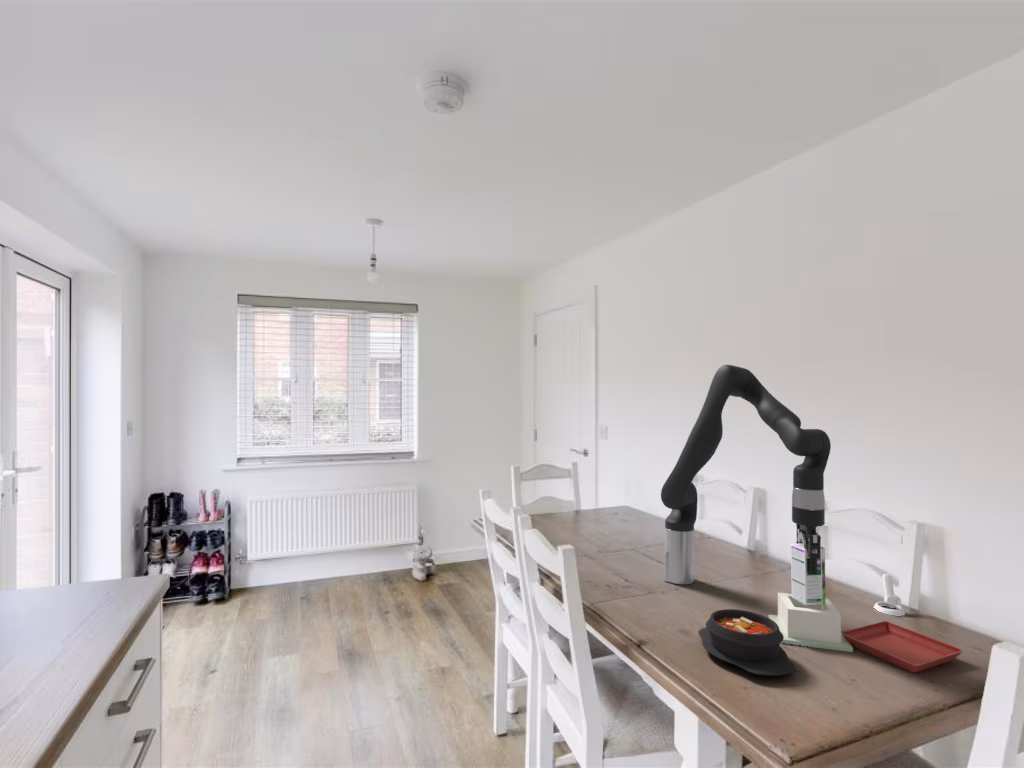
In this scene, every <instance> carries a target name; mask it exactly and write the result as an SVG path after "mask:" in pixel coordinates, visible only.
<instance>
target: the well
mask: <svg viewBox="0 0 1024 768" xmlns="http://www.w3.org/2000/svg"><path fill="white" fill-rule="evenodd" d="M767 617H768V618H770V619H771V620H773V621H774V622H775V623H776V624H777V625H778V627H779V630H780V632H781V633H782V634H783V636H784V639H783V641H782V642H781V643H780V644H782V643H785V644H784V645H790V644H793V646H799V645H801V646H800V647H807V646H808V648H816V649H817V648H818V649H826V650H833V651H842V652H848V653H853V652H854V647H853V646H852V645H851V644H850V643H849V642H848V641H847V640H846V639H845V638H844V637H843V635H842V634H841V632H842V613H840V611H838V609H837V608H836V606H835V605H834V604H833V603H832V602H831V600H830V599H829V598H828V597H826V596H825V604H817V605H804V604H802V603H800V602H798V601H797V600H795V599H794V598H792V593H786V592H777V614H768V616H767Z"/></svg>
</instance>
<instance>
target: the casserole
mask: <svg viewBox="0 0 1024 768" xmlns="http://www.w3.org/2000/svg"><path fill="white" fill-rule="evenodd" d="M698 635H699V636H700V638H701V643H702V647H704V649H705V650H706V651H707V652H708V653H709V654H711V655H712V656H714V657H715V658H717V659H718V660H721V661H722V662H726V663H727V664H731V665H733V666H736V667H738V668H740V669H742V670H744V671H746V672H748V673H750V674H754V675H757V676H769V677H774V676H775V677H776V676H784V675H788V674H791V673H793V672H795V671H796V665H794V664H793V662H792V661H791V660H790V658H789V656H788V655H787V652H786V651H785V650H784V649H783V647H781V644H782V643H781V642H782V641H783V639H784V636H783V634H782V633H781V632H780V630H779V627H778V625H777V624H776V623H775V622H774V621H773V620H771V619H770V618H768V616H766V615H763V614H760V613H757V612H755V611H754V612H753V611H750V610H749V611H748V610H743V609H733V608H732V609H731V608H730V609H729V608H728V609H727V608H726V609H719V610H716V611H714V612H713V611H712V613H711V614H710V617H709V619H708V620H706V622H705V627H702V628H700V629H699V630H698Z"/></svg>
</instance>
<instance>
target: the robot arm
mask: <svg viewBox="0 0 1024 768" xmlns="http://www.w3.org/2000/svg"><path fill="white" fill-rule="evenodd" d="M729 397H735V398H741V399H743V400H745V401H747V402H748V403H750V404H751V405H753V407H754V408H755V410H757V413H758V415H759V417H760V419H761V421H763V423H765V425H767V426H768V427H769V428H770V429H771V430H773V431H774V432H775V433H776V434H777V435H778V437H779V438H780V440H781V442H782V443H783V445H784V447H785V448H786V449H787V450H788V451H789V452H790V453H792V454H793V455H795V456H799V457H804V460H803V462H802V463H800V464H796V466H795V467H794V468H793V475H792V478H793V479H792V481H793V483H792V486H793V487H792V494H791V521H792V522H793V523H794V524H796V525H795V527H796V542H795V544H800V543H803V548H804V549H806V557H807V572H808V573H809V574H817V559H820V558H821V556H820V546H821V540H822V536H821V535H820V534H819V533H818V532H817V527H823V526H824V525H825V521H826V520H825V515H826V514H825V512H826V510H825V509H826V508H825V506H826V504H825V502H826V501H825V500H826V499H825V498H826V497H825V490H824V481H825V480H824V476H825V475H824V473H825V470H826V467H827V464H828V461H829V457H830V453H831V449H832V448H831V447H832V446H831V439H830V437H829V435H828V433H826V431H825V430H822V429H818V428H802V427H801V426H802V422H801V419H800V417H799V416H798V415H797V414H795V413H794V412H793V411H792V410H791V409H790V408H788V407H787V406H785V405H784V404H783V403H782V402H781V401H779V400H778V399H777V398H776V397H775V396H773V395H772V393H770V392H769V391H768V389H767V388H766V387H765V386H764V385H763V384H762V382H760V380H759V379H758V378H757V377H756V375H755V374H753V372H752V371H750V370H749V369H747V368H745V367H741V366H736V365H731V364H723V365H722V366H720V367H719V368H717V370H716V372H715V374H714V375H713V378H712V380H711V382H710V386H709V388H708V392H707V395H706V397H705V400H704V403H703V405H702V407H701V409H700V412H699V415H698V416H697V419H696V421H695V423H694V425H693V427H692V429H691V431H690V433H689V435H688V437H687V439H686V442H685V445H684V447H683V449H682V451H681V452H680V455H679V457H678V459H677V462H676V464H675V466H674V467H673V469H672V471H671V472H670V473H669V476H668V477H667V479H666V480H665V482H664V484H663V485H662V488H661V489H660V490H661V492H660V500H661V502H662V504H663V506H664V507H666V508H667V509H670V510H671V511H670V514H669V515H668V516H667V517H666V518H665V521H664V531H665V532H664V581H665V582H666V583H667V582H668V583H671V584H676V585H692V584H693V583H694V579H695V578H694V577H695V576H694V573H695V571H694V570H695V569H694V567H695V566H694V565H695V564H694V560H695V559H694V558H695V555H694V554H695V553H694V550H695V535H694V534H695V523H696V522H697V517H698V516H697V515H698V500H699V499H698V491H697V488H696V486H695V484H694V483H693V480H694V479H695V477H696V475H697V474H698V473H699V472H700V471H701V470H702V468H704V466H705V465H706V464H707V463H708V462H709V461H710V460H711V459H712V457H713V456H714V455H715V453H716V451H717V449H718V447H719V445H720V443H721V441H722V438H723V429H724V428H723V420H722V419H723V417H722V415H723V410H724V407H725V405H726V403H727V401H728V398H729ZM821 547H822V546H821ZM812 550H813V551H814V553H815V554H813V553H812Z"/></svg>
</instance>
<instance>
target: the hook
mask: <svg viewBox="0 0 1024 768" xmlns="http://www.w3.org/2000/svg"><path fill="white" fill-rule="evenodd" d="M882 582H883V583H882V584H883V590H884V598H883V601H877V602H876V603H875V604H874V606H873V608H875V609H876V610H877V611H879V612H882V613H885V614H889V615H895V616H901V615H904V614H906V612H905V609H904V608H903V607H902V606H901V603H902V600H901V598H900V596H898V595H896V594H895V592H894V591H895V590H894V585H893V584H894V583H893V578H892V575H891V574H887V573H883V574H882ZM880 605H885V606H892V607H894V608H897V609H899V610H897V609H893V608H888V607H881V606H880ZM877 611H876V612H877ZM879 612H878V613H879ZM885 614H884V615H885ZM889 615H888V616H889ZM895 616H894V617H895Z"/></svg>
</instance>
